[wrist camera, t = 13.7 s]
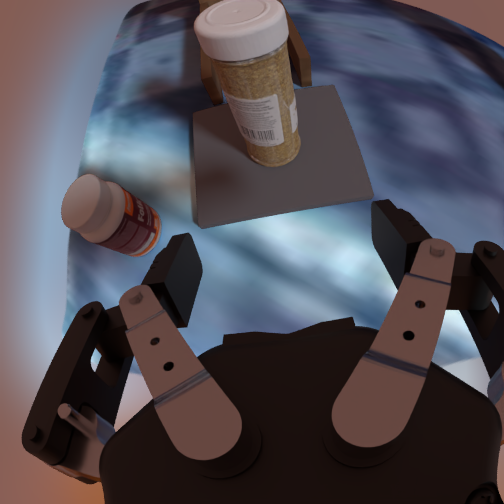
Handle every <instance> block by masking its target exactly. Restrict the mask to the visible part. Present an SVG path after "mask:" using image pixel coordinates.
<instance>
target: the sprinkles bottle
mask: <svg viewBox="0 0 504 504" xmlns="http://www.w3.org/2000/svg"><path fill="white" fill-rule="evenodd" d="M194 31H195V33H196V36H197V38H198V41H199V43H200V45H201V47H202V49H203V51H204V52H205V54H206V55H208V56H209V59H210V60H211V61H212V63H213V66H214V68H215V71H216V73H217V76H218V77H219V80H220V82H221V87H222V90H223V92H224V94H225V97H226V99H227V102H228V104H229V106H230V109H231V111H232V113H233V116H234V118H235V121H236V123H237V125H238V128H239V130H240V132H241V134H242V136H243V137H244V140H245V142H246V144H247V151H248V153H249V155H250V157H251V158H252V159H253V160H254V161H255V162H257V163H258V164H260V165H264V166H267V167H278V166H282V165H285V164H287V163H289V162H290V161H292V160H293V159H294V158H295V157H296V156H297V154H298V152H299V149H300V146H301V140H300V136H299V134H298V126H297V125H298V117H297V108H296V99H295V94H294V89H293V82H292V77H291V69H290V62H289V56H288V50H287V37H288V34H289V31H288V24H287V18H286V14H285V10H284V7H283V5H282V4H281V3H280V2H279V1H277V0H223V1H220V2H218V3H216V4H214V5H212V6H210V7H208V8H207V9H205V10H204V11H203V12H202V13H201V14H200V15H199V16H198V17H197V18H196V20H195V22H194Z"/></svg>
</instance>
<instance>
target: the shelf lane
mask: <svg viewBox="0 0 504 504" xmlns="http://www.w3.org/2000/svg"><path fill="white" fill-rule="evenodd" d="M220 1H223V0H199V3H200V14H201V13H202V12H203V11H204V10H205V9H207V8H208V7H210V6H212V5H214V4H216V3H218V2H220ZM277 1H279V2H280V3H281V4H282V5H283V3H282V2H281V0H277ZM283 7H284V5H283ZM284 10H285V14H286V18H287V24H288V31H289V34H288V37H287V49H288V52H289V54H290V57H291V59H292V62H293V64H294V67H295V69H296V72H297V75H298V78H299V80H300V83H301V86H302V87H307V86H312V80H311V61H310V56H309V54H308V51H307V49H306V47H305V45H304V43H303V41H302V39H301V37H300V35H299V33H298V31H297V29H296V27H295V25H294V23H293V21H292V20H291V18H290V16H289V14H288V12H287V10H286V9H285V7H284ZM200 53H201V80H202V82H203V84H204V86H205V88H206V90H207V92H208V94H209V96H210V98H211V100H212V102H213V104H214V105H217V104H220V103H223V93H222V87H221V82H220V80H219V77H218V76H217V73H216V71H215V68H214V66H213V63H212V61H211V60H210V59H209V56H208V55H206V54H205V52H204V51H203V49H202V47H201V45H200Z"/></svg>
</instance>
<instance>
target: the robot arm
mask: <svg viewBox="0 0 504 504" xmlns="http://www.w3.org/2000/svg"><path fill="white" fill-rule="evenodd" d="M371 221H372V241H373V245H374V247H375V249H376V251H377V253H378V254H379V256H380V258H381V260H382V262H383V264H384V265H385V267H386V269H387V271H388V273H389V275H390V277H391V278H392V280H393V282H394V284H395V286H396V288H397V290H398V292H397V294H396V296H395V299H394V301H393V303H392V305H391V307H390V309H389V312H388V314H387V316H386V318H385V320H384V322H383V324H382V326H381V328H380V330H377V329H373V328H369V327H362V326H355V323H354V320H353V317H349V318H343V319H337V320H332V321H326V322H320V323H318V324H315V325H312V326H310V327H307V328H304V329H301V330H298V331H296V332H293V333H289V334H279V333H266V332H246V333H236V334H226V335H224V337H223V344H222V345H219V346H216V347H214V348H211V349H209V350H207V351H206V352H204V353H202V354H201V355H199V356H198V357H196V356H195V354H194V353H193V351H192V350H191V349H190V347H189V346H188V344H187V343H186V341H185V340H184V338H183V337H182V335H181V334H180V332H179V331H178V329H177V328H184V327H187V326H188V322H189V319H190V315H191V312H192V308H193V305H194V301H195V298H196V294H197V291H198V287H199V284H200V281H201V277H202V273H203V269H202V263H201V260H200V257H199V255H198V252H197V249H196V247H195V244H194V241H193V239H192V236H191V235H190V233H184V234H179V235H174V236H172V238H171V239H170V241H169V243H168V245H167V247H166V248H164V249H163V250H162V251H161V252H160V253H158V254H157V256H156V257H155V259H154V261H153V264H152V265H151V266H150V269H149V270H148V272H147V274H146V276H145V278H144V280H143V281H142V283H141V285H139V286H135V287H133V288H131V289H129V290H128V291H127V292H125V293H124V294H123V295H122V297H121V298H120V301H119V305H118V306H116V307H113V308H110V309H107V310H105V309H104V307H103V305H102V304H101V303H100V302H98V301H94V302H91V303H88V304H86V305H85V306H83V307H82V308H81V309H80V310H79V311H78V313H77V314H76V316H75V318H74V319H73V321H72V323H71V325H70V327H69V329H68V330H67V332H66V334H65V336H64V338H63V340H62V342H61V344H60V346H59V348H58V350H57V352H56V354H55V356H54V358H53V360H52V362H51V364H50V366H49V368H48V371H47V372H46V375H45V377H44V379H43V381H42V384H41V386H40V388H39V391H38V393H37V396H36V398H35V400H34V402H33V405H32V407H31V410H30V413H29V416H28V418H27V421H26V423H25V426H24V429H23V432H22V444H23V447H24V448H25V450H26V451H28V452H29V453H30V454H32V455H34V456H36V457H37V458H39V459H40V460H42V461H44V463H46V464H47V465H49V466H50V467H52V468H54V469H56V470H58V471H59V472H61V473H63V474H65V475H67V476H69V477H73V478H75V479H78V480H79V481H82V482H84V483H86V484H94V483H96V482H101V483H102V486H103V492H104V499H105V504H504V503H503V501H502V499H501V496H500V494H499V491H498V487H497V466H498V457H499V451H500V446H501V445H503V444H504V250H503V249H502V248H501V247H500V246H499V245H497V244H495V243H493V242H489V241H479V242H477V243H476V244H475V245H474V249H473V253H456V252H455V249H454V247H453V246H452V245H451V244H450V243H448V242H447V241H444V240H441V239H435V238H432V237H431V236H430V235H429V233H428V232H427V231H426V230H425V229H424V228H423V227H422V226H421V225H420V223H419V222H418V221H417V220H416V219H415V218H414V217H413V216H412V215H411V214H410V213H409V212H407V211H405V210H403V209H397V208H396V206H395V205H394V204H393V203H392V202H391V201H390V200H389V199H386V200H379V201H373V202H372V204H371ZM493 295H494V297H495V298H496V300H497V302H498V304H499V313H498V311H497V310H496V308H495V306H494V305H493V303H492V301H491V299H492V297H493ZM445 310H459V311H460V313H461V315H462V317H463V319H464V321H465V323H466V325H467V327H468V329H469V331H470V333H471V335H472V337H473V339H474V342H475V344H476V346H477V348H478V351H479V353H480V355H481V357H482V360H483V362H484V364H485V367H486V370H487V372H488V375H489V377H490V382H489V384H488V389H487V394H488V397H486V396H485V395H484V394H482V393H481V392H479V391H478V390H476V389H474V388H473V387H471V386H470V385H468V384H466V383H465V382H463V381H462V380H460V379H459V378H457V377H455V376H454V375H452V374H451V373H449V372H447V371H446V370H444V369H443V368H441V367H440V366H438V365H437V364H435V363H433V362H432V361H431V360H432V356H433V353H434V350H435V347H436V344H437V340H438V337H439V333H440V330H441V326H442V322H443V319H444V315H445ZM95 348H96V349H97V350H98V352H99V353H100V354H101V355H102V356H101V358H100V361H99V364H98V366H97V369H96V371H95V372H94V371H93V369H92V367H91V357H92V354H93V352H94V350H95ZM134 356H135V359H136V361H137V363H138V366H139V368H140V371H141V373H142V375H143V377H144V380H145V381H146V384H147V386H148V388H149V391H150V393H151V395H152V396H153V399H152V400H151V401H150V402H149V403H148V404H146V405H145V406H144V407H143V408H142V409H141V410H140V411H139V412H138V413H137V414H136V415H134V416H133V418H131V419H130V420H129V421H128V422H127V423H126V424H125V425H123V426H122V427H121V428H120V429H119V430H118V431H117V432H115V429H114V424H115V420H116V416H117V413H118V409H119V405H120V401H121V398H122V394H123V391H124V387H125V383H126V380H127V377H128V374H129V370H130V367H131V364H132V361H133V357H134Z"/></svg>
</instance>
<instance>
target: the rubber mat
mask: <svg viewBox="0 0 504 504" xmlns="http://www.w3.org/2000/svg"><path fill="white" fill-rule="evenodd" d="M294 94H295V99H296V108H297V117H298V125H297V126H298V134H299V136H300V140H301V146H300V149H299V152H298V154H297V156H296V157H295V158H294V159H293V160H292V161H290V162H289V163H287V164H285V165H282V166H278V167H267V166H264V165H260V164H258V163H257V162H255V161H254V160H253V159H252V158H251V157H250V155H249V153H248V151H247V144H246V142H245V140H244V137H243V136H242V134H241V132H240V130H239V128H238V125H237V123H236V121H235V118H234V116H233V113H232V111H231V109H230V106H229V104H228V103H227V104H223V105H219V106H215V107H211V108H208V109H204V110H201V111H197V112H194V113H193V136H194V161H195V180H196V197H197V212H198V225H199V227H200V228H201V229H205V228H210V227H215V226H220V225H225V224H230V223H235V222H240V221H246V220H251V219H256V218H262V217H267V216H273V215H278V214H284V213H289V212H295V211H301V210H307V209H313V208H318V207H325V206H331V205H337V204H343V203H349V202H356V201H362V200H369V199H372V198H373V196H374V193H373V190H372V187H371V183H370V180H369V177H368V173H367V170H366V167H365V164H364V161H363V158H362V155H361V152H360V149H359V146H358V144H357V141H356V138H355V135H354V133H353V130H352V127H351V125H350V122H349V119H348V117H347V114H346V112H345V109H344V107H343V105H342V102H341V100H340V97H339V95H338V93H337V91H336V88H335V86H334V85H328V86H319V87H311V88H304V89H297V90H294Z"/></svg>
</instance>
